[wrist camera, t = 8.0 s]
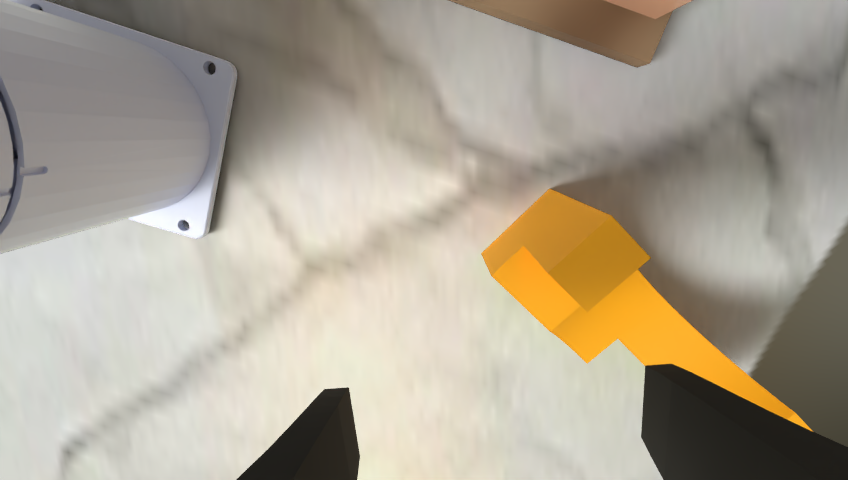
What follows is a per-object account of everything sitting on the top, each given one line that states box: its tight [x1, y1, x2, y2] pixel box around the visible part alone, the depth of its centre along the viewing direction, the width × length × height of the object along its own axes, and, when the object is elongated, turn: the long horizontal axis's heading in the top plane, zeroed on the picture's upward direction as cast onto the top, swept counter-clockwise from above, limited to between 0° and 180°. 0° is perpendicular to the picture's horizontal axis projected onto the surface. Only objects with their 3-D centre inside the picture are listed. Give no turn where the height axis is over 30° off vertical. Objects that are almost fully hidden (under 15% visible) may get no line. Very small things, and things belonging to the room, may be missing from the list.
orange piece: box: [481, 189, 812, 431], centre depth 17 cm, size 12×4×6 cm, turn 46°
